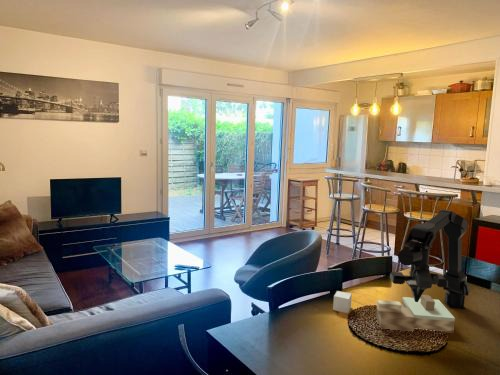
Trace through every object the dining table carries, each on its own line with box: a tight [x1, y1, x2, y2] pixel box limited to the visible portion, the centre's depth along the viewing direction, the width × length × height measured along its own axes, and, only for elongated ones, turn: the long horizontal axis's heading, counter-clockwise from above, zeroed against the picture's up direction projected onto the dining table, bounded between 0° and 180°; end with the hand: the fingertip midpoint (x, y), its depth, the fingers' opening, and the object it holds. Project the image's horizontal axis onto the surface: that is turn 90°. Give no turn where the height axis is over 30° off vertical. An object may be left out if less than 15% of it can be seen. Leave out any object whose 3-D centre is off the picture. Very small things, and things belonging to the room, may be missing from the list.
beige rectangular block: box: [376, 299, 402, 313], centre depth 140 cm, size 8×3×3 cm, turn 83°
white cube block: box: [332, 290, 352, 314], centre depth 153 cm, size 6×6×6 cm
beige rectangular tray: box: [375, 300, 456, 334], centre depth 144 cm, size 26×18×6 cm
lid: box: [401, 294, 456, 322], centre depth 144 cm, size 14×16×6 cm
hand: (416, 301), depth 138 cm, fingers closed
